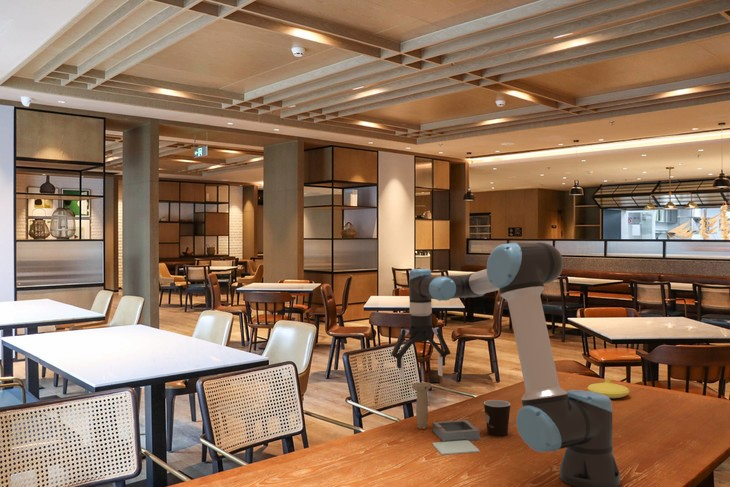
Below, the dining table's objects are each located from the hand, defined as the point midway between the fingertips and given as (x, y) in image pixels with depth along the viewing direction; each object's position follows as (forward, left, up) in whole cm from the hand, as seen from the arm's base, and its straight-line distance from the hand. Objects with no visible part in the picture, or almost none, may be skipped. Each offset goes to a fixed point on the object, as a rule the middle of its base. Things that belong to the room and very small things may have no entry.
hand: (421, 376), depth 211 cm
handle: (0, 0, -18) cm, 18 cm away
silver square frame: (-10, -9, -18) cm, 22 cm away
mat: (-22, -5, -18) cm, 28 cm away
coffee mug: (-10, -23, -18) cm, 31 cm away
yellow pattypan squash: (+23, -84, -18) cm, 89 cm away
